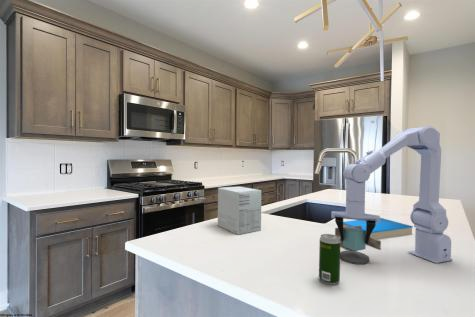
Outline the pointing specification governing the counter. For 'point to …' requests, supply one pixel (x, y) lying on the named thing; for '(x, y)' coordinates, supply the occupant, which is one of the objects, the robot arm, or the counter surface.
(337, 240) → the beer can
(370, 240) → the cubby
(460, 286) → the counter surface
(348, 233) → the block
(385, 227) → the book
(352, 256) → the coaster
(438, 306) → the counter surface
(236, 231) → the supplement box
